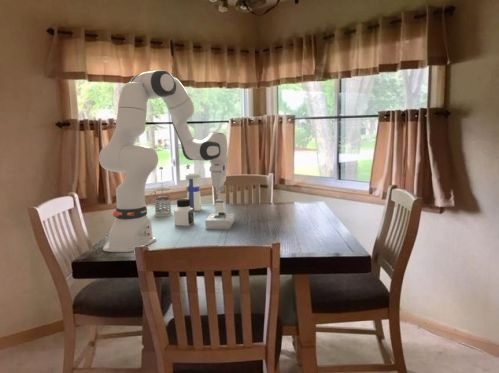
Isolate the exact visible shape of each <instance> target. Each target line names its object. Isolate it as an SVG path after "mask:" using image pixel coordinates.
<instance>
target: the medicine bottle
mask: <svg viewBox="0 0 499 373" xmlns="http://www.w3.org/2000/svg"><path fill="white" fill-rule="evenodd" d="M176 205H177V206H176V209H175V210H174V211H173V217H174V220H173V221H174V226H180V227H182V226H184V227H190V226H191V225H192V224H193V223H194V222H195V215H194V212H195V211H193V208H190V200H189V199H187V197H186V198H179V199H177V200H176Z"/></svg>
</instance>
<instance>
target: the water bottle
mask: <svg viewBox="0 0 499 373" xmlns="http://www.w3.org/2000/svg"><path fill="white" fill-rule="evenodd" d="M190 166H191V165H190V164H189V163H187V165H185V167H186V170H190ZM200 178H201V174H200V173H189V174H186V175H185V181H187V184H186V187H185V189H186V193H187V194H186V195H187V196H186V198H187V199H189V200H190V208H193V212H197V211H200V210H202V203H201V202H202V200H201V192H200V186H201V185H200V182H199V180H200Z"/></svg>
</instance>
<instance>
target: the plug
mask: <svg viewBox="0 0 499 373" xmlns="http://www.w3.org/2000/svg"><path fill="white" fill-rule="evenodd" d="M214 202H215V203H214V204H215V205H214V207H215V208H214V209H215V213H219V212H225V213H226V204H225V203H226V202H225V198H219V199H218V198H217V199H215V201H214Z"/></svg>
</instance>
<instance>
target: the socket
mask: <svg viewBox="0 0 499 373" xmlns="http://www.w3.org/2000/svg"><path fill="white" fill-rule="evenodd" d="M204 222H205V225H204V227H205V230H231V229H232V226H233V224H234V222H235V213H226V211H225V212H219V213H216V212H214V213H210V214H209V215H208V216H207V218H206V219H205V221H204Z"/></svg>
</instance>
